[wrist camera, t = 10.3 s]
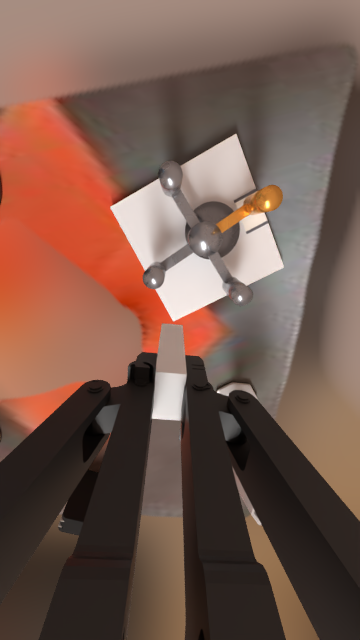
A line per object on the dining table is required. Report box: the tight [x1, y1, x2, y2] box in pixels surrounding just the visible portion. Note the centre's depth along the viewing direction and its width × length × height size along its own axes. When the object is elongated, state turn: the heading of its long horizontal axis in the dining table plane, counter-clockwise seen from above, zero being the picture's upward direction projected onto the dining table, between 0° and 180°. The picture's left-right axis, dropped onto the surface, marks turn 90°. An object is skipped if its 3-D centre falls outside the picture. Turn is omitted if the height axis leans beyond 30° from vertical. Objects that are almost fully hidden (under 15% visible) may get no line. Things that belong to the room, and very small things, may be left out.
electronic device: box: [58, 470, 99, 535], centre depth 51 cm, size 4×10×10 cm, turn 68°
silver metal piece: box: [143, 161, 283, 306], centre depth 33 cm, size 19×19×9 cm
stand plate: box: [110, 134, 284, 321], centre depth 38 cm, size 20×20×2 cm
